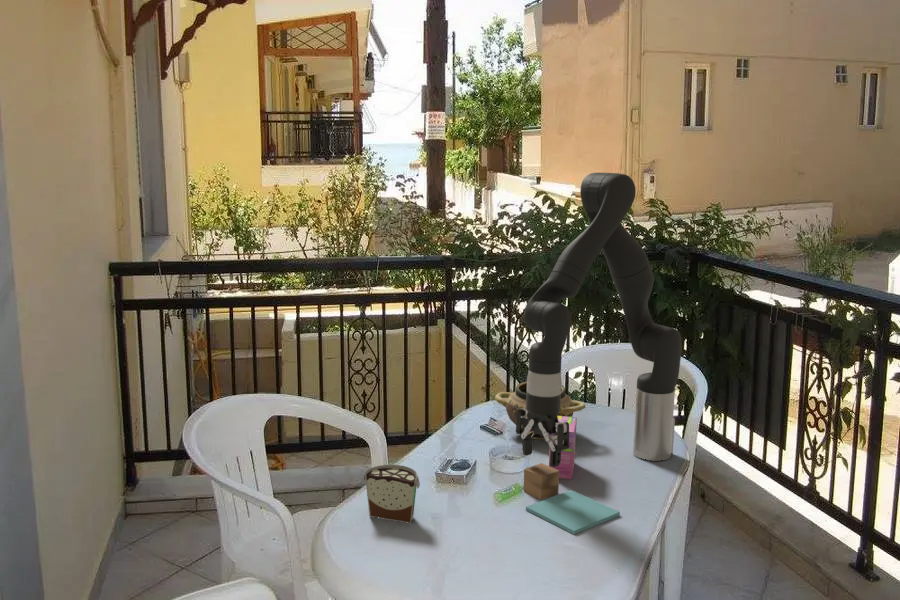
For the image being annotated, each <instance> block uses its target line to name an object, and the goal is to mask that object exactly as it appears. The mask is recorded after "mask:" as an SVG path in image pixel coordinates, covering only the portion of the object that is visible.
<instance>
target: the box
mask: <svg viewBox="0 0 900 600" xmlns="http://www.w3.org/2000/svg"><path fill="white" fill-rule="evenodd" d="M557 417H558V421H559V422H561V423H565V422H568V423H569V448H568V449H566V450H562V451H561V462H560V464H559V466H556V467H552V468H554V469H556V470H559V479H563V480H573V473H574V467H575V457H576V438H577V437H576V436H577V425H578V424H577V423H578V418H577V417H574V416H572V417H566V416H557ZM550 436H551V437H552V436H554V434H553V433H552V434H551V435H550ZM553 441H554V440H553ZM554 443H555V441H554ZM563 444H564V440H563ZM555 445H556V443H555ZM551 451H552V450H551V447H550V446H549V452H548V453H549V455H548V466H549V467H551V466H550V456H551Z"/></svg>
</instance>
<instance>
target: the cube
mask: <svg viewBox="0 0 900 600" xmlns="http://www.w3.org/2000/svg"><path fill="white" fill-rule="evenodd" d="M559 482H560V478H559V470H556V469H554V468H552V467H549V465H547V464H546V463H542V462H541V463H539V464H535V465H532V466H529V467H526V468H524V469H523V493H525V494H528V495H530V496H532V497H534V498H536V499H538V500H540V501H543V500H545V499H548V498H551V497H553V496H556V495H559V486H560V483H559Z"/></svg>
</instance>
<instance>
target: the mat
mask: <svg viewBox="0 0 900 600" xmlns="http://www.w3.org/2000/svg"><path fill="white" fill-rule="evenodd" d="M525 511H526V512H529V513H531V514H532V515H534V516H536V517H539V518H540V519H542V520H544V521H545V522H546V521H547V522H549V524H550V523H551V524H552V525H554V526H557V527H558V528H561V529H562V530H564V531H566V532H569V533H570V534H572V535H576V534H579V533H581V532H583V531H586V530H589V529H591V528H593V527H596V526H599V525H600V524H602V523H605V522H607V521H609V520H612V519H615V518H617V517H619V516H621V512H620V511H619V510H616V509H614V508H612V507H610V506H608V505H606V504H603V503H601V502H599V501H597V500H594V499H592V498H590V497H588V496H585V495H583V494H582V493H579V492H577V491H575V490H572V489H570V490H567V491H565V492H562V493H558V494H555V495H553V496H550V497H547V498H545V499H542V500H540V501H538V502H537V501H536V502H535V503H532V504H530V505H526V506H525Z"/></svg>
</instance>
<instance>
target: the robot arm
mask: <svg viewBox="0 0 900 600" xmlns="http://www.w3.org/2000/svg"><path fill="white" fill-rule="evenodd" d="M636 189H637V188H636V185H635V182H634V180H633V178H632V177H630V175H627V174H625V173H619V172H617V173H616V172H592V173H589V174H587V175H586V176H585V177H584V178H583V179H582V181H581V184H580V193H579V194H580V200H581V204H582V207H583V209H584V212H585V213H586V215H587V218H588V219H589V221H590V224H589V225H588V226H587V227H586V228H585V230H583V231H582V232H581V233H580V234H578V236H577V237H576V238H575V239H573V240H572V241H571V242H570V243H569V244H568V245H567V246H566V247H565V248H564V249H563V251H562V252H561V254H560V255H559V257H558V259H557V261H556V263H555V265H554V267H553V269H552V271H551V273H550V275H549V276H548V278H547V280H545V281H544V282H543V283H542V285H540V287H539V288H538V289H537V290H536V291H535V293H533V295H532V296H531V297H530V298H529V300H528V301H527V303H526V305H525V307H524V310H523V321H524V323H525V325H526V327H527V328H529V329H531V330H532V331H536V332H540V333H543V334H544V337H543V340H542V341H537V342H534V343H532V345H531V346H530V348H529V354H528V357H529V358H528V373H527V377H526V381H527V395H526V408H521V409H518V411H517V422H516V425H515V432H516V434H517V435H520V437H521V440H522V445H521V446H522V447H521V448H522V449H521V450H522V452H523V453H522V454H523V455H524V456H529V455H532V454H533V444H534V443H533V441H534V439H533V438H531V437H532V436H533V435H534V433H535V434H539V435H541V436H542V437H544V438H545V439H544V441H545V442H546V443H548V445H549V448H550V447H551V450H552V451H551V456H550V466H551V467H556V466H559V464H560V462H561V451H562V450H566V449H568V448H569V423H568V422H565V423H561V422H559V421H558V417H557V416H558V413H559V412H560V405H561V385H563V384H562V383H563V382H562V354H563V351H564V348H565V345H566V342H567V338H568V336H569V332H570V329H571V325H572V316H571V313H570V309H569V308H568V306H566V304H563V303H560V302H561V300H563V299H569V298H573V297H575V296H576V295H577V294H578V292H579V290H580V289H581V286H582V284H583V282H584V280H585V278H586V277H587V275H588V272H589V271H590V269H591V266H592V265H593V263H594V261H595V260H596V257H597V256H598V255H599V253H600V252H601V251H602V252H603V255H604V257H605V260H606V263H607V267H608V270H609V273H610V276H611V279H612V281H613V285H614V287H615V289H616V292H617V294H618V298H619V301H620V304H621V308H622V311H623V313H624V317H625V322H626V327H627V330H628V336H629V340H630V341H629V342H630V344H631V347H632V350H633V352H634V354H635V355H636V356H637V357H639V358H640V359H642V360H645V361H648V362H652V364H653V366H652V370H651V371H652V372H646V373H642V374H640V375H639V376H638V377H637V379H636V392H635V395H636V396H635V410H634V411H635V412H634V432H633V448H632V449H633V450H632V453H634V454H633V455H634V456H635V457H637V458H638V459H641V458H642V460H645V459H646V460H645V461H650V460H652V462H660V461H661V460H663V461H666V460H665V459H667V460H669V459H670V458H671V457H670V456H672V454H671V453H673V454H674V440H675V439H674V438H675V429H676V428H675V426H676V425H675V424H676V418H675V417H674V412H675V411H674V409H675V396H676V394H675V393H676V384H677V383H678V380H679V379H678V378H679V375H680V369H681V368H680V367H681V360H682V353H683V352H682V350H683V342H682V341H683V339H682V336H681V333H680V332H679V331H678V330H677V329H676V328H673V327H670V326H666V325H661V324H658V323H655V321H654V320H653V318H652V316H651V313H650V310H649V309H650V308H649V306H648V305H649V300H650V297H651V293H652V291H653V286H654V281H655V280H654V274H653V270H652V267H651V264H650V262H649V258H648V256H647V253H646V251H645V250H644V248H643V247H642V246H641V244H639V242H638V241H637V240H636V239H635V238H634V237H633V235H632V234H631V233H630V232H629V231H628V230H627V229H626V228H625V226H624V225H623V224H622V221H623V220H624V218H625V217H626V216H627V215H628V213H629V211H630V209H631V208H632V206H633V204H634V202H635V198H636V193H637V192H636ZM528 421H529V423H528ZM521 425H522V428H521ZM552 433H553V434H554V436H552V437H551V436H550V435H551V434H552ZM553 440H554V441H555V443H556V445H555V443H554V441H553ZM563 440H564V444H563ZM669 457H670V458H669ZM668 458H669V459H668Z"/></svg>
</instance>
